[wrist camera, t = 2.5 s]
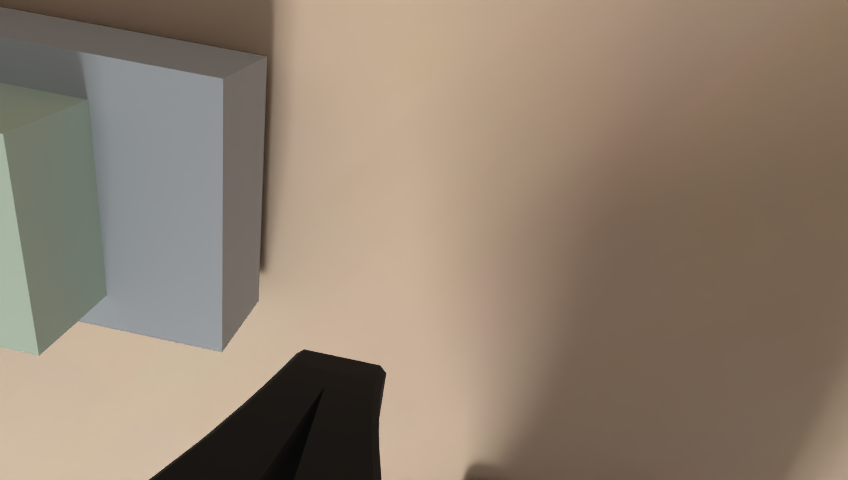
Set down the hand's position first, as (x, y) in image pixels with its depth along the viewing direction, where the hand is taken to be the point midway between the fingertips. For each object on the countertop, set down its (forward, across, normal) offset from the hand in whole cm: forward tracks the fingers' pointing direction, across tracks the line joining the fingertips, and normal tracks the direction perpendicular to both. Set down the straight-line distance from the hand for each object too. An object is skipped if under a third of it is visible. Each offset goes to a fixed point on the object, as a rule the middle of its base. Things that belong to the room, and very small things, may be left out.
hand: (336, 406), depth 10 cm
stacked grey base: (+8, +9, 0) cm, 12 cm away
